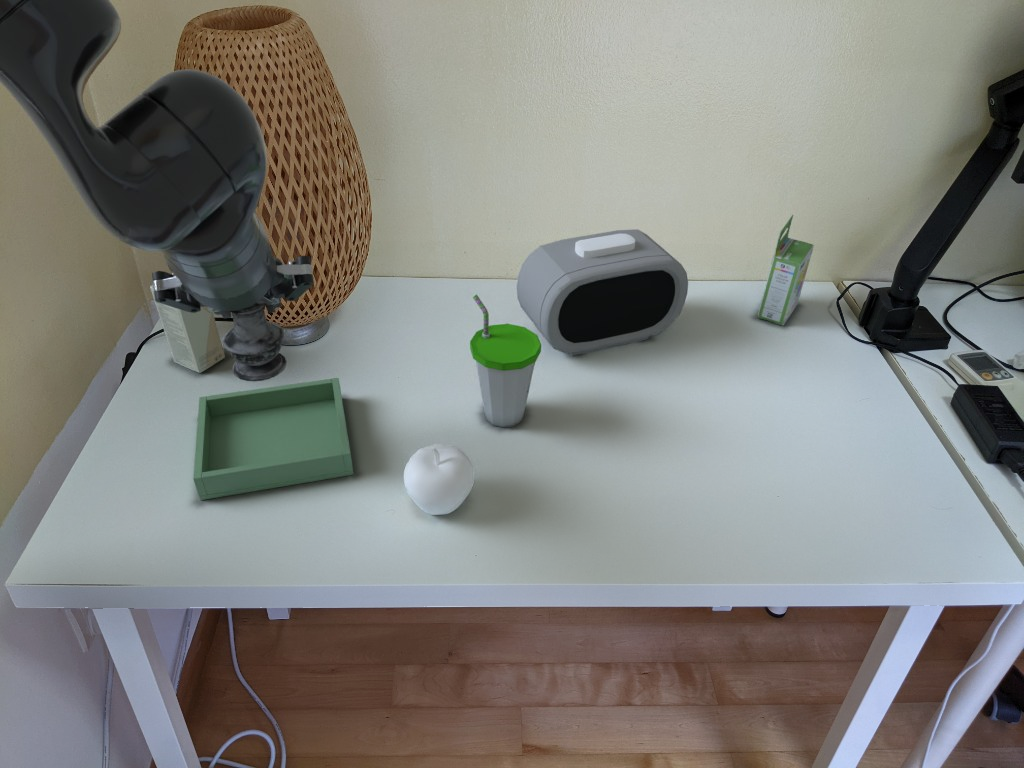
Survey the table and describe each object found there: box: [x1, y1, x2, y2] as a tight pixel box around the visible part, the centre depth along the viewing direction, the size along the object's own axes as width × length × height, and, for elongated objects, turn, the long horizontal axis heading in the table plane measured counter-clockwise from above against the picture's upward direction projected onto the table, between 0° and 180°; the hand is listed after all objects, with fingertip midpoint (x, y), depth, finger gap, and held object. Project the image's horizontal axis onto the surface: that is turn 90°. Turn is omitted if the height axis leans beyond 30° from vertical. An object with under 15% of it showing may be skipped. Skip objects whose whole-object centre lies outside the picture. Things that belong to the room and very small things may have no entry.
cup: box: [469, 293, 542, 428], centre depth 87 cm, size 8×8×15 cm
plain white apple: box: [403, 443, 476, 516], centre depth 77 cm, size 7×7×8 cm
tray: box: [192, 377, 354, 501], centre depth 85 cm, size 16×14×3 cm
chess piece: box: [221, 303, 287, 382], centre depth 75 cm, size 6×6×12 cm
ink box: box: [757, 214, 815, 326], centre depth 107 cm, size 7×4×13 cm, turn 148°
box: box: [150, 284, 226, 374], centre depth 95 cm, size 5×4×11 cm
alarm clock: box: [516, 228, 689, 357], centre depth 102 cm, size 21×10×13 cm, turn 112°
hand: (248, 305), depth 77 cm, fingers closed on chess piece, 3 cm apart
